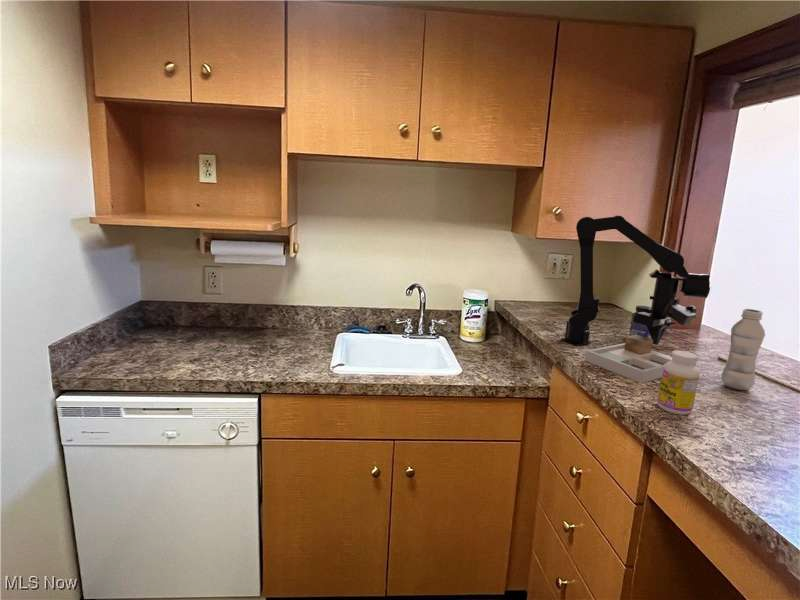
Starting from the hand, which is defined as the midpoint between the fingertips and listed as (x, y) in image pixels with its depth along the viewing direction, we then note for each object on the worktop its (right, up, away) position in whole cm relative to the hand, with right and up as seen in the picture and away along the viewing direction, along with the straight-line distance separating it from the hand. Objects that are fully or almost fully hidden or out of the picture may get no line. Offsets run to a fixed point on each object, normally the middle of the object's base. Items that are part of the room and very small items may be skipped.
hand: (655, 344), depth 134 cm
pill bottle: (+3, 0, +15) cm, 16 cm away
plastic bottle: (+7, -9, -23) cm, 25 cm away
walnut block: (-8, -2, -4) cm, 9 cm away
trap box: (-11, -5, -10) cm, 16 cm away
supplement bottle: (-17, -11, -36) cm, 41 cm away
